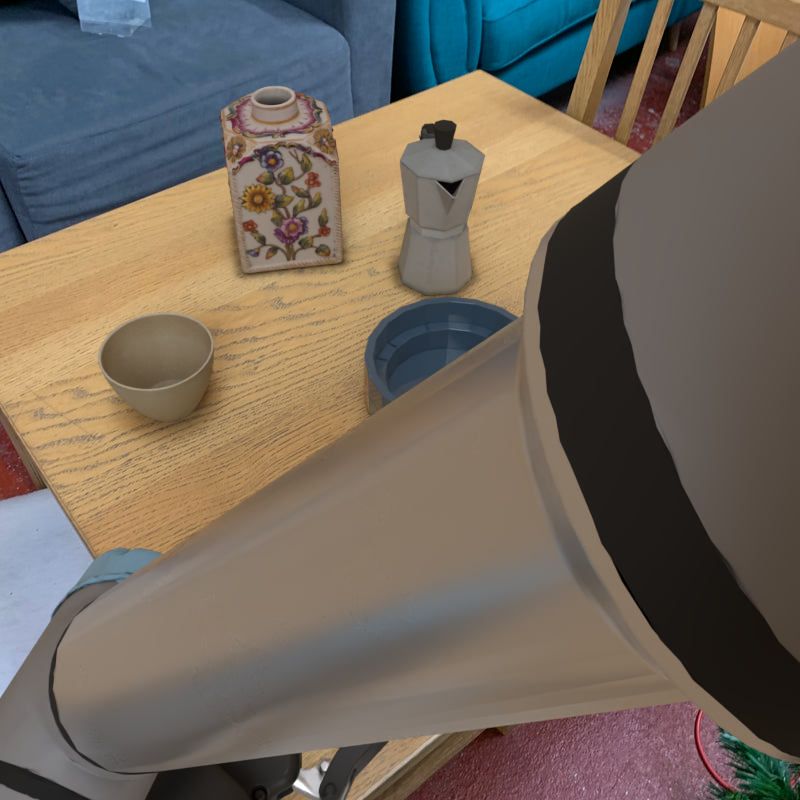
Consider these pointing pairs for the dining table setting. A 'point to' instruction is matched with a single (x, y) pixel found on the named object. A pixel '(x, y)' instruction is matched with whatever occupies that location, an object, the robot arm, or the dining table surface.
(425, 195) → the coffee maker
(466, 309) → the bowl
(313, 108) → the decorative jar
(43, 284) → the dining table surface
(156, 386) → the small beige bowl
